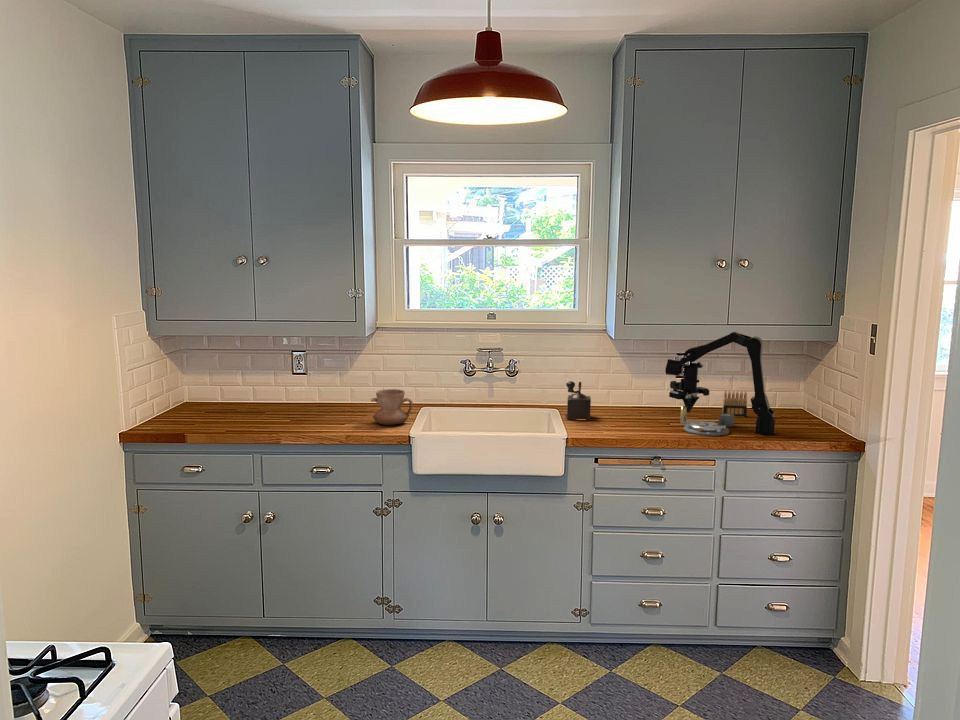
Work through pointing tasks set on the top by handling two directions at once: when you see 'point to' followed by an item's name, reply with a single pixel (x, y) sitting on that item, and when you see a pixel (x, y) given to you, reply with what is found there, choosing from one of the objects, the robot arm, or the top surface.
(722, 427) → the grey crank mechanism
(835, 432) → the top surface
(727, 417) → the link block
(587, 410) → the pepper mill
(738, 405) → the ammunition clip
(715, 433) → the index plate
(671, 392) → the robot arm
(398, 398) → the ceramic jug
